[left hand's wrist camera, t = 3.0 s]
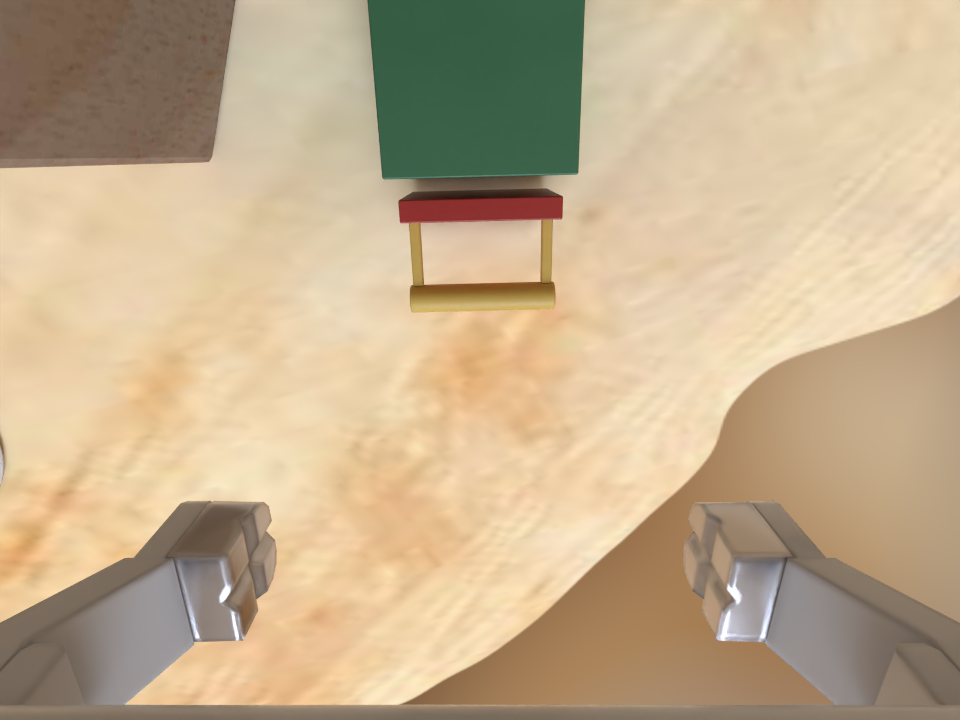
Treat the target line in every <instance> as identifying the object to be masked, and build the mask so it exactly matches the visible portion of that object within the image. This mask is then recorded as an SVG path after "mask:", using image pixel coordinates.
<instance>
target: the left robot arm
mask: <svg viewBox="0 0 960 720" xmlns="http://www.w3.org/2000/svg"><path fill="white" fill-rule="evenodd" d="M3 473H4V460H3V453H2V449H1V445H0V485H1V482H2V479H3ZM271 521H272V520H271V515H270V510H269V506H268V505H267V504H266V503H264V502H232V501H213V502H211V501H187V502H184V503H181V504H180V505H179V506H178V507H177V508H176V509H175V511H174V512H173V513H172V514H171V515H170V516H169V518H168V519H167V520H166V521H165V522H164V523H163V525H162V526H161V527H160V528H159V529H158V530H157V531H156V533H155V534H154V535H153V536H152V537H151V538H150V540H149V541H148V542H147V543H146V544H145V545H144V547H143V548H142V549H141V550H140V551H139V552H138V553H137V555H136V556H135V557H134V558H124V559H122V560H120V561H118V562H116V563H115V564H113V565H111V566H109V567H107V568H105V569H103V570H101V571H99V572H97V573H95V574H93V575H91V576H90V577H88V578H86V579H84V580H82V581H80V582H78V583H76V584H74V585H72V586H70V587H68V588H66V589H65V590H63V591H61V592H59V593H57V594H55V595H53V596H51V597H49V598H47V599H45V600H43V601H41V602H39V603H38V604H36V605H34V606H32V607H30V608H28V609H26V610H24V611H22V612H20V613H18V614H16V615H14V616H13V617H11V618H9V619H7V620H5V621H3V622H1V623H0V720H960V623H959V622H957V621H955V620H953V619H951V618H949V617H947V616H945V615H943V614H941V613H939V612H938V611H936V610H934V609H932V608H930V607H928V606H926V605H924V604H922V603H920V602H918V601H916V600H915V599H913V598H911V597H909V596H907V595H905V594H903V593H901V592H899V591H897V590H895V589H893V588H891V587H889V586H888V585H886V584H884V583H882V582H880V581H878V580H876V579H874V578H872V577H870V576H868V575H867V574H865V573H863V572H861V571H859V570H857V569H855V568H853V567H851V566H849V565H847V564H845V563H843V562H842V561H840V560H838V559H836V558H826V557H825V556H824V555H823V554H822V552H821V551H820V550H819V549H818V548H817V547H816V545H815V544H814V543H813V542H812V541H811V540H810V538H809V537H808V536H807V535H806V534H805V533H804V532H803V530H802V529H801V528H800V527H799V526H798V525H797V523H796V522H795V521H794V520H793V519H792V518H791V517H790V515H789V514H788V513H787V512H786V511H785V510H784V508H783V507H782V506H781V505H780V504H779V503H777V502H775V501H748V502H722V503H693V506H692V507H691V509H690V514H689V520H688V521H689V523H690V525H691V526H692V528H693V530H694V532H693V533H692V534H691V535H690V536H689V537H688V538H687V539H686V540H685V545H684V553H683V557H684V568H685V573H686V576H687V580H688V582H689V584H690V586H691V589H692V591H693V592H695V593H696V594H697V595H699V596H700V597H701V598H703V599H704V601H703V607H702V611H703V613H704V615H705V617H706V620H707V622H708V624H709V626H710V627H711V630H712V632H713V634H714V636H715V638H716V640H717V641H751V642H766V645H767V646H768V647H769V648H771V649H772V650H773V651H774V652H775V653H776V654H778V655H779V656H780V657H781V658H782V659H783V660H785V661H786V662H787V663H788V664H789V665H790V666H791V667H793V668H794V669H795V670H796V671H797V672H798V673H800V674H801V675H802V676H803V677H804V678H805V679H807V680H808V681H809V682H810V683H811V684H812V685H814V686H815V687H816V688H817V689H818V690H819V691H821V692H822V693H823V694H824V695H825V696H826V697H828V698H829V699H830V700H831V701H832V702H833V703H834V704H836V705H125V704H126V703H127V702H128V701H129V700H130V699H132V698H133V697H134V696H135V695H136V694H137V693H138V692H140V691H141V690H142V689H143V688H144V687H145V686H147V685H148V684H149V683H150V682H151V681H152V680H154V679H155V678H156V677H157V676H158V675H159V674H161V673H162V672H163V671H164V670H165V669H166V668H168V667H169V666H170V665H171V664H172V663H173V662H175V661H176V660H177V659H178V658H179V657H180V656H182V655H183V654H184V653H185V652H186V651H187V650H189V649H190V648H191V647H192V646H193V645H194V642H208V641H242V640H244V638H245V636H246V634H247V632H248V630H249V628H250V626H251V624H252V622H253V620H254V618H255V615H256V613H257V611H258V607H257V601H256V599H257V598H259V597H260V596H261V595H263V594H264V593H266V592H267V591H268V589H269V586H270V584H271V582H272V580H273V576H274V572H275V567H276V544H275V540H274V539H273V538H272V537H271V536H270V535H269V534H268V533H267V532H266V530H267V528H268V526H269V525H270V523H271Z"/></svg>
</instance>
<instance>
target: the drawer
mask: <svg viewBox="0 0 960 720" xmlns="http://www.w3.org/2000/svg"><path fill="white" fill-rule="evenodd" d="M562 211H563V196H561V195H559V194H557V193H555V192H552V191H550V190H548V189H508V190H468V191H429V192H412V193H410V194H409V195H407V196H406V197H404V198H402V199H401V200H399V215H400V223H409V228H410V243H411V257H412V272H413V285H411V287H410V306H411V311H412V312H452V311H492V310H533V309H554V306H555V285H554V282H551V270H552V227H553V219H562ZM511 220H541V282H520V283H480V284H439V285H423V284H424V277H423V260H422V244H421V228H420V223H431V222H471V221H511Z"/></svg>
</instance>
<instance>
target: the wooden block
mask: <svg viewBox="0 0 960 720" xmlns="http://www.w3.org/2000/svg"><path fill="white" fill-rule="evenodd" d="M234 4H235V0H0V168H23V167H58V166H92V165H127V164H162V163H196V162H209V161H210V159H211V158H212V153H213V146H214V140H215V133H216V126H217V119H218V113H219V106H220V99H221V92H222V86H223V79H224V72H225V65H226V58H227V52H228V45H229V38H230V31H231V25H232V18H233V11H234Z"/></svg>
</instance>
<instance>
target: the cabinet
mask: <svg viewBox="0 0 960 720" xmlns="http://www.w3.org/2000/svg"><path fill="white" fill-rule="evenodd" d="M584 10H585V0H368V11H369V23H370V35H371V47H372V59H373V71H374V83H375V95H376V107H377V119H378V131H379V143H380V155H381V167H382V178H383V179H417V178H457V177H496V176H536V175H576V174H578V165H579V139H580V114H581V88H582V62H583V36H584Z"/></svg>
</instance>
